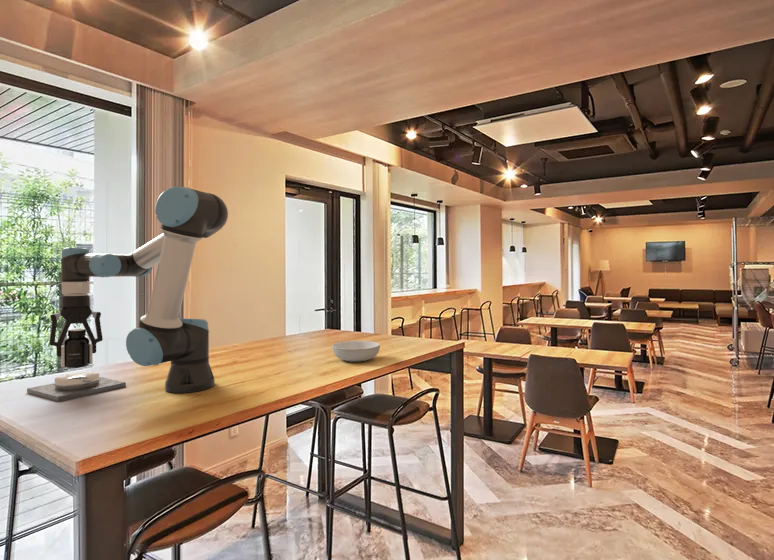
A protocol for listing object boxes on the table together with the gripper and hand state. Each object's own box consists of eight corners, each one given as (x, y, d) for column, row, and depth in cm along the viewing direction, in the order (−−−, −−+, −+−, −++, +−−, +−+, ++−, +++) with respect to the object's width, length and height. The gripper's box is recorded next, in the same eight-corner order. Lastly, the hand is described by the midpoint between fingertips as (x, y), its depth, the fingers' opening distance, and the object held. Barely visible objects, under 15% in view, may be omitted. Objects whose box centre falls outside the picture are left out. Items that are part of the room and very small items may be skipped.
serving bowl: (322, 361, 191) (321, 345, 191) (352, 354, 208) (352, 339, 208) (360, 367, 179) (360, 350, 179) (389, 358, 196) (389, 343, 196)
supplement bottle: (70, 369, 141) (69, 331, 141) (60, 367, 145) (59, 330, 145) (93, 365, 147) (93, 329, 147) (83, 363, 151) (82, 328, 151)
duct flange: (125, 386, 150) (125, 373, 150) (58, 401, 132) (57, 386, 132) (93, 379, 160) (93, 367, 160) (27, 393, 142) (26, 379, 142)
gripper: (109, 293, 155) (110, 359, 155) (37, 295, 142) (38, 367, 143) (113, 294, 149) (113, 362, 150) (38, 296, 136) (39, 371, 137)
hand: (77, 364), depth 146 cm, fingers closed on supplement bottle, 7 cm apart
